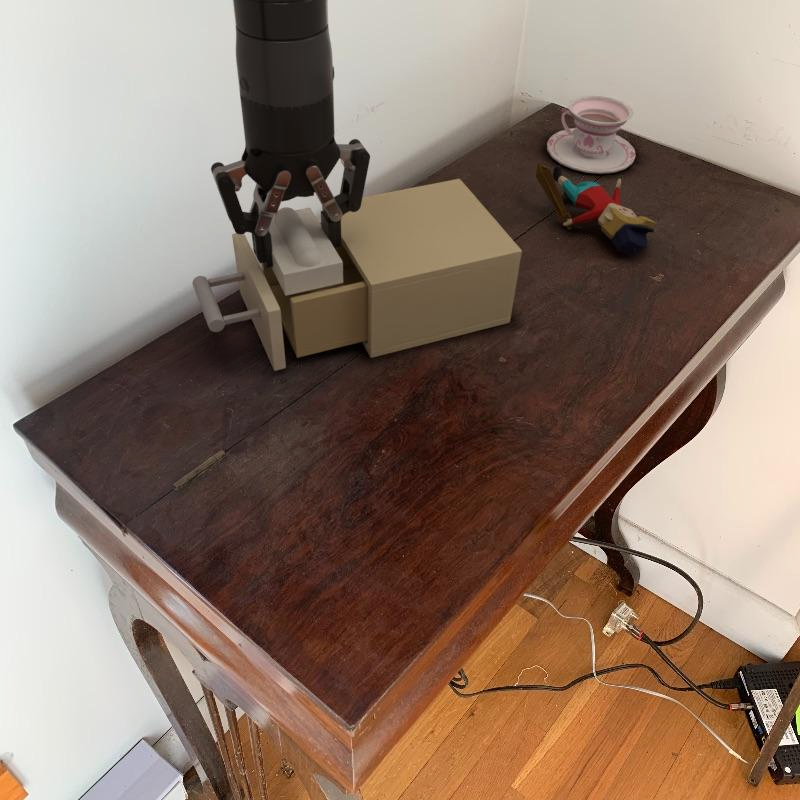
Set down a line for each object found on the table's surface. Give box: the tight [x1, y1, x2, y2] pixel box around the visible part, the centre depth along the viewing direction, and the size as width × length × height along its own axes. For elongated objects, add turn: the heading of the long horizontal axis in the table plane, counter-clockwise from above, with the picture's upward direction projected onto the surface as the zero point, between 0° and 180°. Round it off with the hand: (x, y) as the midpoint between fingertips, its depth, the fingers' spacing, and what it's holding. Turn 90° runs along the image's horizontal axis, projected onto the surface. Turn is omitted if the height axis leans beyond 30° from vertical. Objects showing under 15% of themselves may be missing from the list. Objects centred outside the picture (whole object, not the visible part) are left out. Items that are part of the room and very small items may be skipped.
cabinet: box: [321, 178, 523, 359], centre depth 83 cm, size 16×14×9 cm
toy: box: [535, 161, 658, 256], centre depth 94 cm, size 9×6×15 cm
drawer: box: [192, 221, 369, 372], centre depth 79 cm, size 19×13×7 cm, turn 112°
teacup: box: [546, 95, 637, 175], centre depth 107 cm, size 12×12×6 cm
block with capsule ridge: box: [269, 206, 343, 295], centre depth 75 cm, size 10×6×4 cm, turn 22°
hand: (298, 255), depth 76 cm, fingers closed on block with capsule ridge, 5 cm apart
